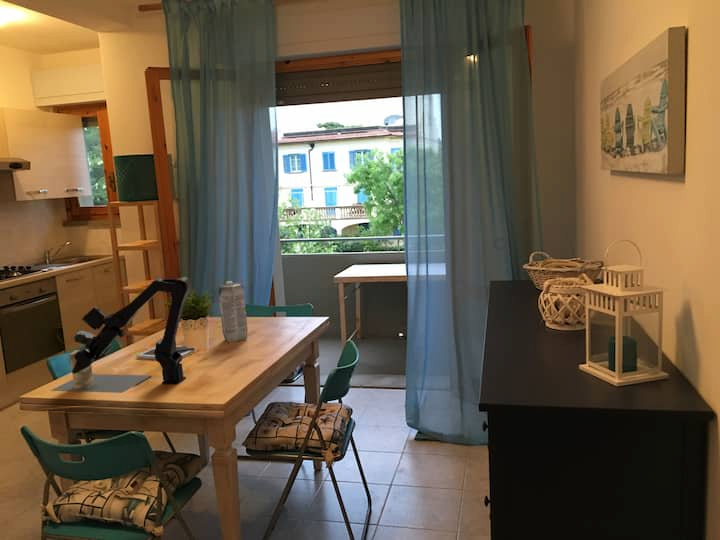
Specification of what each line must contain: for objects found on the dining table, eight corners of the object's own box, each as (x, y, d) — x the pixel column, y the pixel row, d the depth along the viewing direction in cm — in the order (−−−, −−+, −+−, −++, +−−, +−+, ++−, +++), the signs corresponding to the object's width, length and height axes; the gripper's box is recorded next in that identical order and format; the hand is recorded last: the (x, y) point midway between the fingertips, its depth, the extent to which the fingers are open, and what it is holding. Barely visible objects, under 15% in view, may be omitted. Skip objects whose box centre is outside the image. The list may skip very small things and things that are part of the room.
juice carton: (249, 339, 272) (244, 281, 268) (226, 343, 268) (220, 284, 264) (244, 335, 280) (239, 279, 276) (222, 339, 276) (216, 282, 272)
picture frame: (199, 351, 261) (161, 349, 268) (199, 345, 260) (160, 343, 268) (176, 362, 246) (136, 359, 254) (175, 356, 246) (136, 353, 254)
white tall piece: (93, 382, 223) (89, 349, 221) (88, 387, 218) (83, 353, 216) (80, 383, 223) (75, 350, 221) (74, 388, 218) (69, 354, 216)
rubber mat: (151, 376, 228) (151, 375, 228) (122, 394, 211) (122, 392, 211) (84, 375, 235) (83, 373, 235) (50, 392, 218) (50, 390, 218)
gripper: (98, 317, 226) (72, 347, 228) (76, 330, 208) (48, 362, 209) (121, 336, 228) (96, 366, 229) (101, 350, 209) (74, 382, 211)
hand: (78, 368), depth 220 cm, fingers open, 9 cm apart
